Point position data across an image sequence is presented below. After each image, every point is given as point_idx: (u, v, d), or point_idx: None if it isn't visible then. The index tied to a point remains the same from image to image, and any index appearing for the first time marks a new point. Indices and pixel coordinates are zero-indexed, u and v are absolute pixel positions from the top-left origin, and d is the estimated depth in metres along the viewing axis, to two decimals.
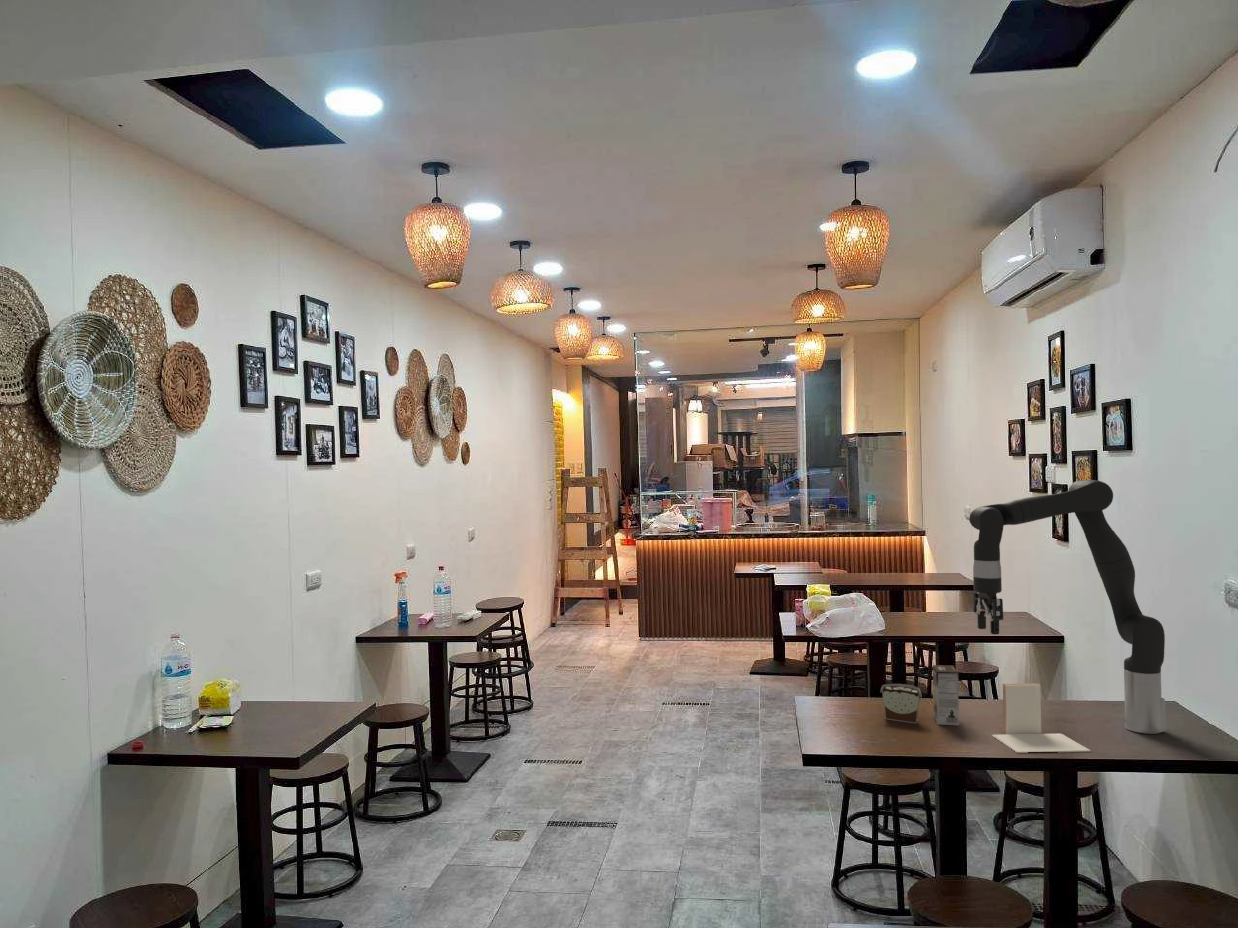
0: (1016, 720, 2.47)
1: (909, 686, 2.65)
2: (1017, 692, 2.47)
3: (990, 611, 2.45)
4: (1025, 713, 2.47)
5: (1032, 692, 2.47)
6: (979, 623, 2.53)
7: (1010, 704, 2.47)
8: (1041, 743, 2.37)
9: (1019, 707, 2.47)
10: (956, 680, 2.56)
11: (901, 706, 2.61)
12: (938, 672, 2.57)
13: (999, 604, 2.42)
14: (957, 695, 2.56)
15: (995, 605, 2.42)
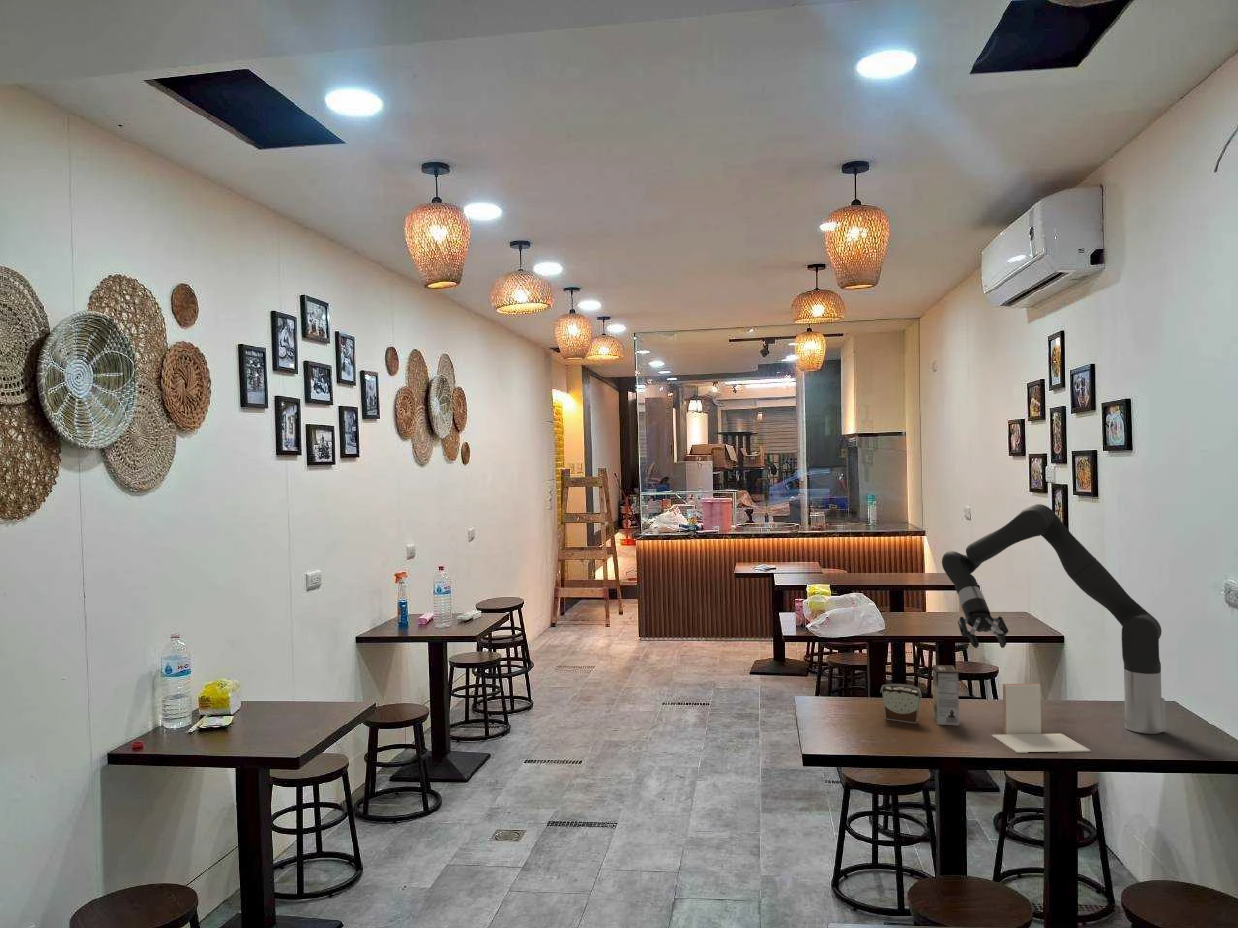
0: (1016, 720, 2.47)
1: (909, 686, 2.65)
2: (1017, 692, 2.47)
3: (970, 631, 2.72)
4: (1025, 713, 2.47)
5: (1032, 692, 2.47)
6: (999, 643, 2.69)
7: (1010, 704, 2.47)
8: (1041, 743, 2.37)
9: (1019, 707, 2.47)
10: (956, 680, 2.56)
11: (901, 706, 2.61)
12: (938, 672, 2.57)
13: (960, 622, 2.73)
14: (957, 695, 2.56)
15: (959, 625, 2.73)
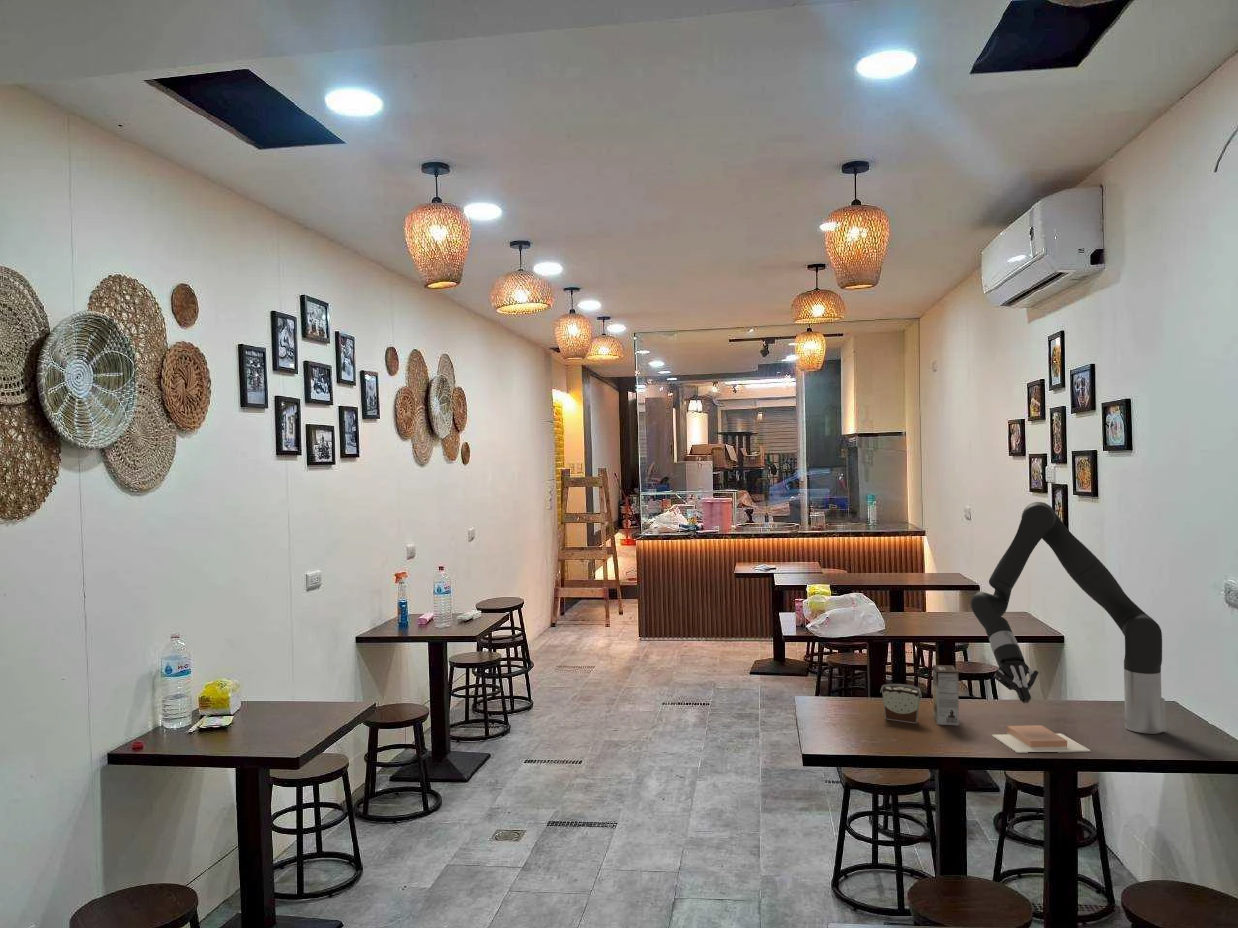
0: None
1: (909, 686, 2.65)
2: None
3: None
4: None
5: None
6: None
7: None
8: None
9: None
10: (956, 680, 2.56)
11: (901, 706, 2.61)
12: (938, 672, 2.57)
13: (999, 677, 2.50)
14: (956, 695, 2.56)
15: (998, 680, 2.51)
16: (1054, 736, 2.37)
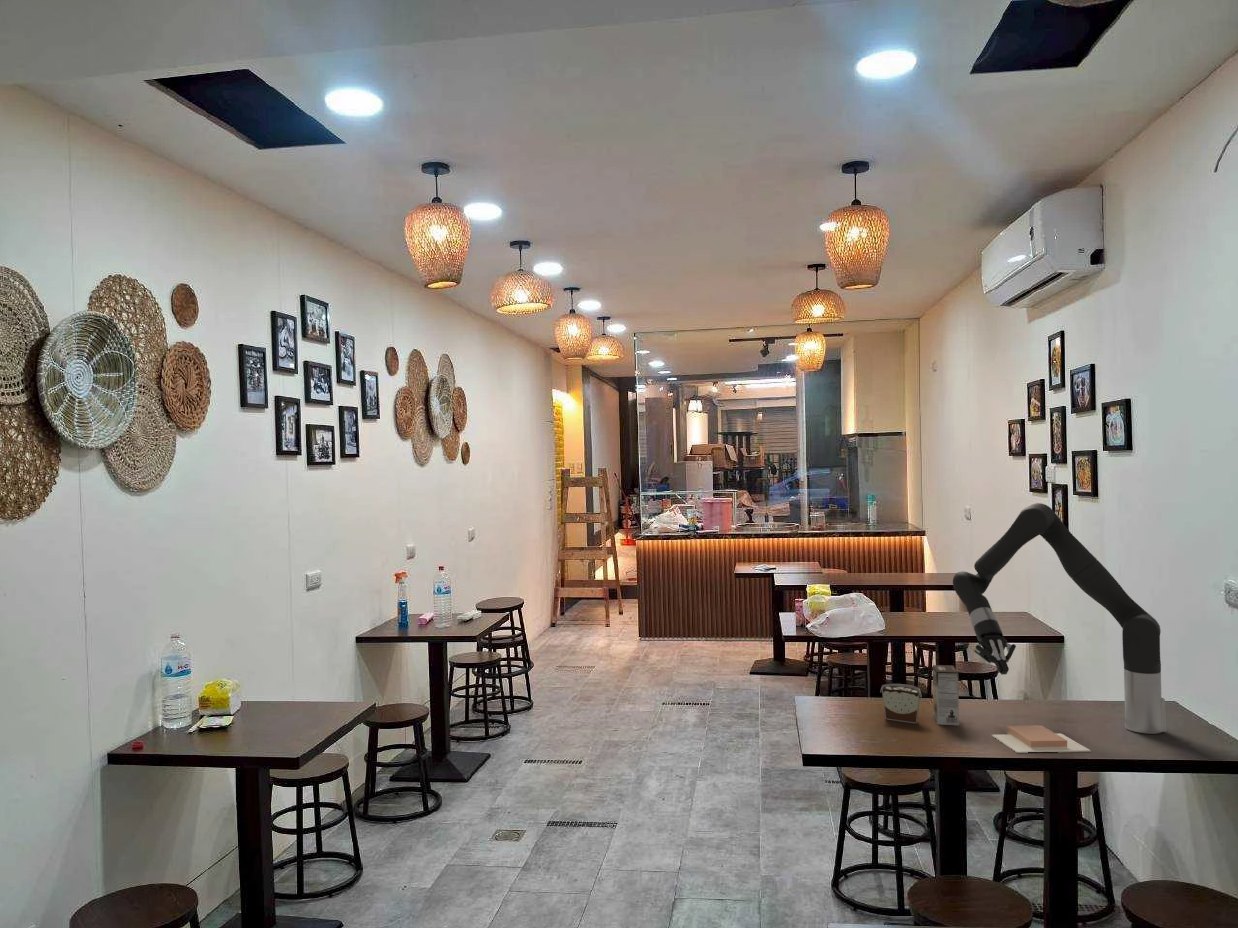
0: None
1: (909, 686, 2.65)
2: None
3: None
4: None
5: None
6: None
7: None
8: None
9: None
10: (956, 680, 2.56)
11: (901, 706, 2.61)
12: (938, 672, 2.57)
13: (979, 651, 2.64)
14: (956, 695, 2.56)
15: (978, 654, 2.65)
16: (1054, 736, 2.37)
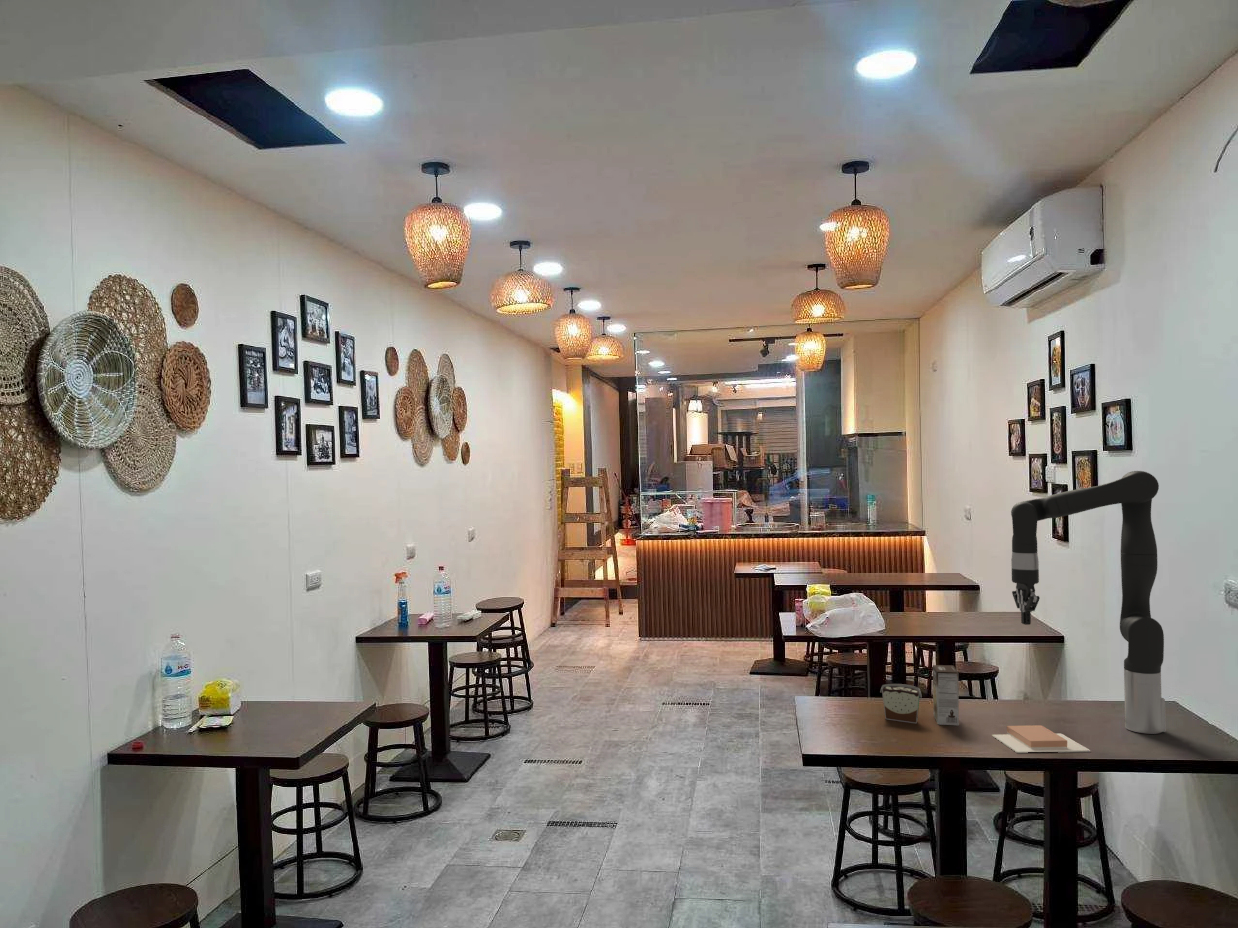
0: None
1: (909, 686, 2.65)
2: None
3: (1024, 604, 2.60)
4: None
5: None
6: None
7: None
8: None
9: None
10: (956, 680, 2.56)
11: (901, 706, 2.61)
12: (938, 672, 2.57)
13: (1035, 601, 2.56)
14: (956, 695, 2.56)
15: (1031, 602, 2.56)
16: (1054, 736, 2.37)
